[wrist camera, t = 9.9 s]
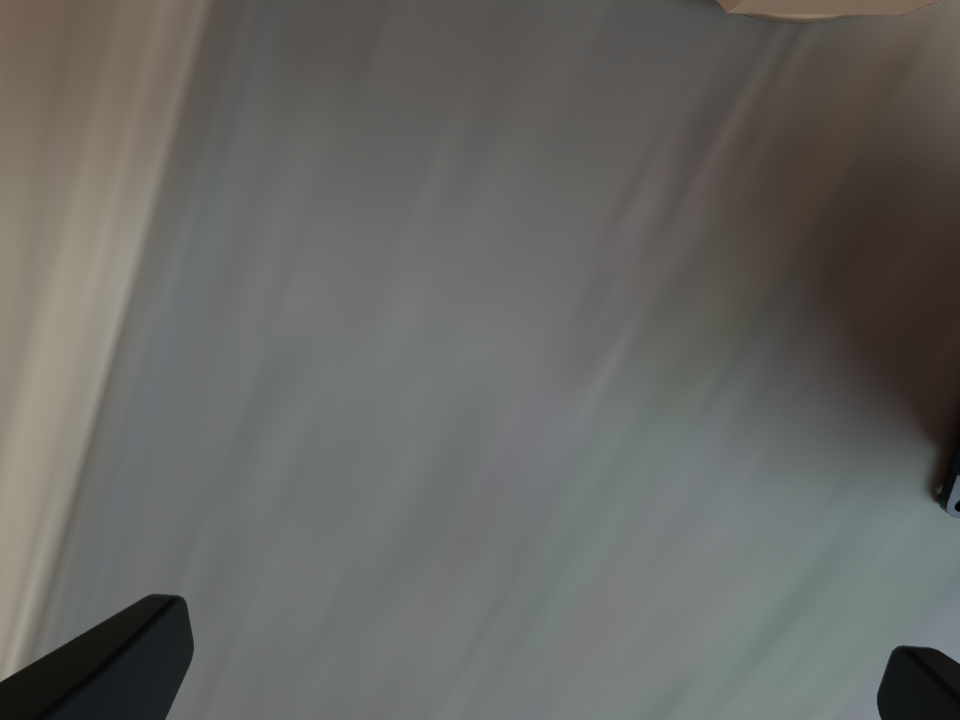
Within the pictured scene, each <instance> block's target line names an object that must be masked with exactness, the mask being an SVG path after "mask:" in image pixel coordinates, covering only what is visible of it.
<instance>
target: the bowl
mask: <svg viewBox="0 0 960 720" xmlns="http://www.w3.org/2000/svg"><path fill="white" fill-rule="evenodd" d="M714 1H716V2H717V3H719V4H720V5H721V6H722V8H723V9H724V10H725V12H726V13H741V14H743V15H746V16H750V17H754V18H758V19H762V20H766V21H772V22H783V23H795V24H797V23H814V22H824V21H829V20H834V19H840V18H845V17H849V16H852V15H901V16H902V15H904V14H907V13H909V12H912V11H914V10H917V9H920V8H922V7H925V6H927V5H930V4H932V3H935V2H937V1H940V0H714Z"/></svg>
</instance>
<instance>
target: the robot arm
mask: <svg viewBox="0 0 960 720" xmlns="http://www.w3.org/2000/svg"><path fill="white" fill-rule="evenodd" d="M959 500H960V438H959V441H958V444H957V447H956V450H955V453H954V456H953V459H952V462H951V465H950V467H949V470H948V473H947V476H946V479H945V482H944V485H943V488H942V491H941V494H940V497H939V505H940V507H941V508H942V509H943V510H944V511H946V512H947V513H948V514H949V515H951V516H952V517H955V518H960V503H958V504H957V505H955V504H956V502H958V501H959ZM193 651H194V641H193V635H192V630H191V624H190V619H189V613H188V608H187V603H186V601H185V600H184V598H183V597H181V596H179V595H166V594H151V595H148V596H146V597H144V598H142V599H141V600H139V601H137V602H136V603H134V604H132V605H131V606H129V607H127V608H125V609H124V610H122V611H120V612H119V613H117V614H115V615H114V616H112V617H110V618H108V619H107V620H105V621H103V622H102V623H100V624H98V625H96V626H95V627H93V628H91V629H90V630H88V631H86V632H85V633H83V634H81V635H79V636H78V637H76V638H74V639H73V640H71V641H69V642H68V643H66V644H64V645H62V646H61V647H59V648H57V649H56V650H54V651H52V652H51V653H49V654H47V655H45V656H44V657H42V658H40V659H39V660H37V661H35V662H33V663H32V664H30V665H28V666H27V667H25V668H23V669H22V670H20V671H18V672H16V673H15V674H13V675H11V676H10V677H8V678H6V679H5V680H3V681H1V682H0V720H165V719H166V717H167V715H168V713H169V710H170V708H171V706H172V704H173V701H174V699H175V697H176V695H177V692H178V690H179V688H180V686H181V683H182V681H183V679H184V677H185V675H186V672H187V670H188V668H189V665H190V663H191V660H192V657H193ZM877 706H878V711H879V714H880V717H881V720H960V664H959V663H957V662H956V661H954V660H953V659H951V658H950V657H948V656H947V655H945V654H943V653H942V652H940V651H938V650H936V649H933V648H929V647H918V646H898V647H896V648H895V649H894V650H893V651H892V653H891V655H890V658H889V660H888V663H887V666H886V669H885V672H884V675H883V678H882V681H881V684H880V687H879V690H878V693H877Z"/></svg>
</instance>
